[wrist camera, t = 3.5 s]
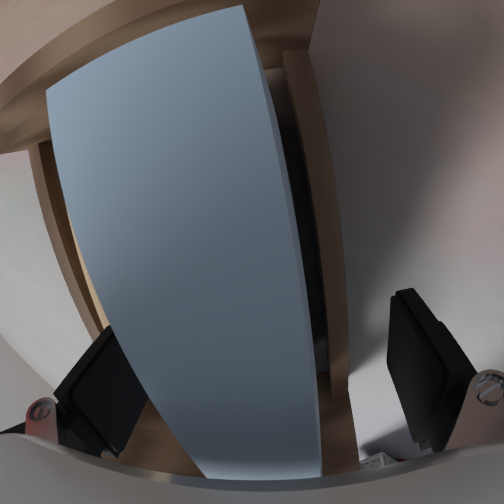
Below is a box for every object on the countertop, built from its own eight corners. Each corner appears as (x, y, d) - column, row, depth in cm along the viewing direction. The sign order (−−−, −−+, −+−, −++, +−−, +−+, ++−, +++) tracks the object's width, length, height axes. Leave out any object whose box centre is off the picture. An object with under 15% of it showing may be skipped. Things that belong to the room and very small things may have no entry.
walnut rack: (300, 46, 14) (313, -51, 4) (344, 379, 22) (359, 483, 12) (52, 131, 17) (-53, 146, 7) (145, 387, 25) (104, 466, 15)
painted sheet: (276, 116, 15) (243, 4, 2) (313, 345, 21) (322, 527, 8) (226, 126, 16) (45, 90, 3) (274, 349, 21) (255, 529, 8)
